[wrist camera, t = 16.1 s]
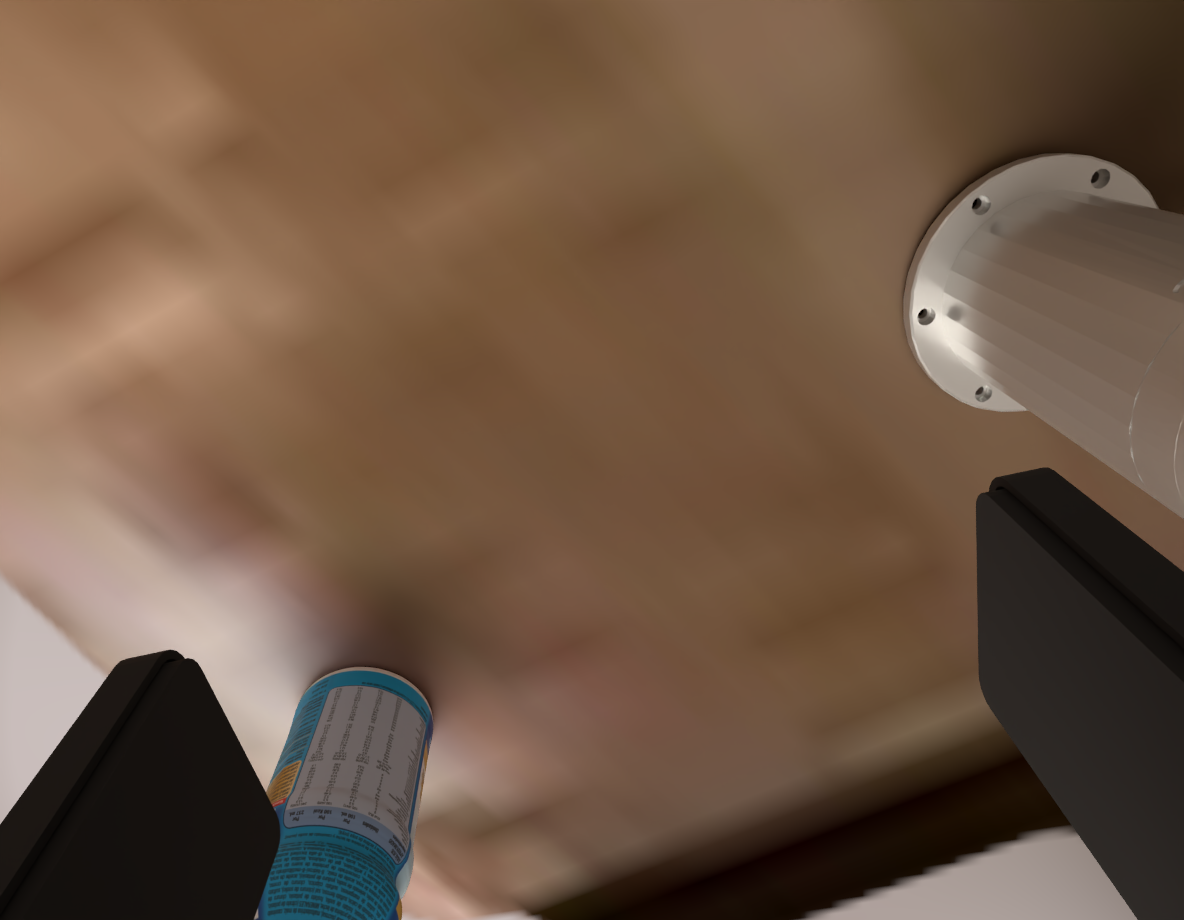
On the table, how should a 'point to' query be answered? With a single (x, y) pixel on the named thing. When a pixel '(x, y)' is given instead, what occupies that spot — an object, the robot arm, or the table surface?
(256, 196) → the table surface
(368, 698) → the beverage bottle
